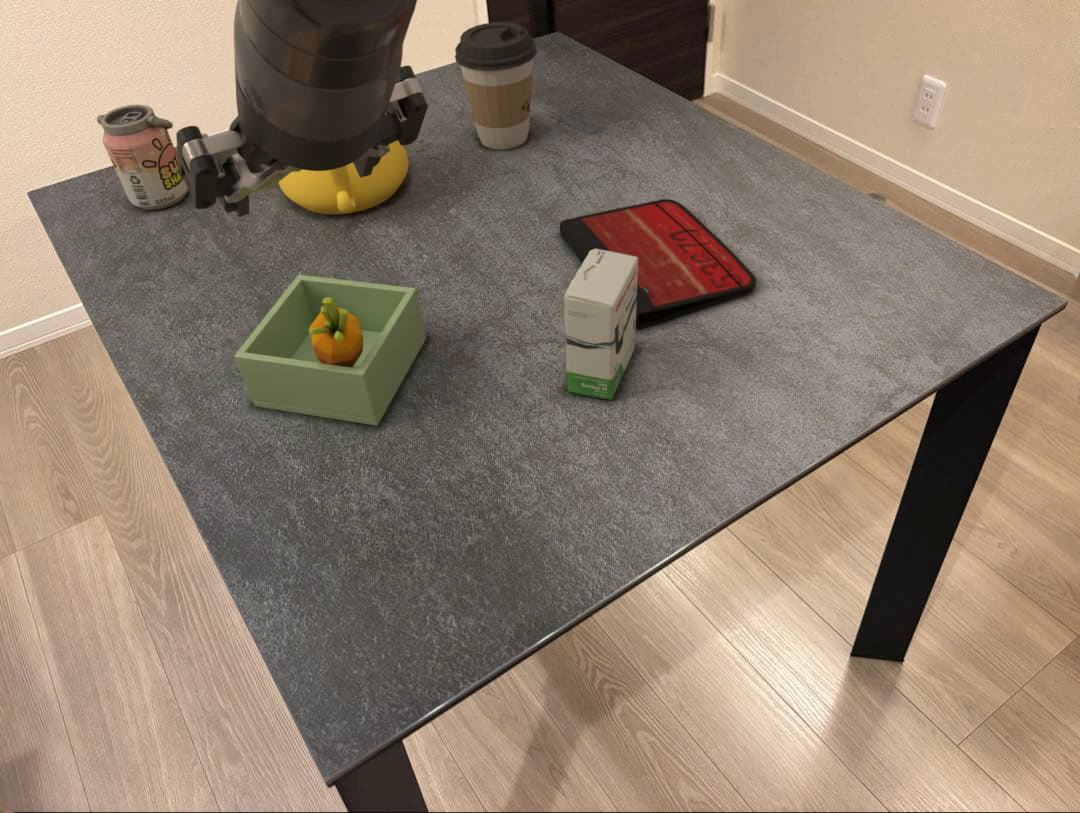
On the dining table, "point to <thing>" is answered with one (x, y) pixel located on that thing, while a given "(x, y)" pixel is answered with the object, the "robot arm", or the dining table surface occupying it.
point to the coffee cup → (498, 81)
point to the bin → (322, 389)
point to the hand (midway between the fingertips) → (299, 182)
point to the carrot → (336, 336)
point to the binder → (663, 256)
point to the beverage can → (143, 156)
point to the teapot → (347, 185)
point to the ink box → (600, 322)
